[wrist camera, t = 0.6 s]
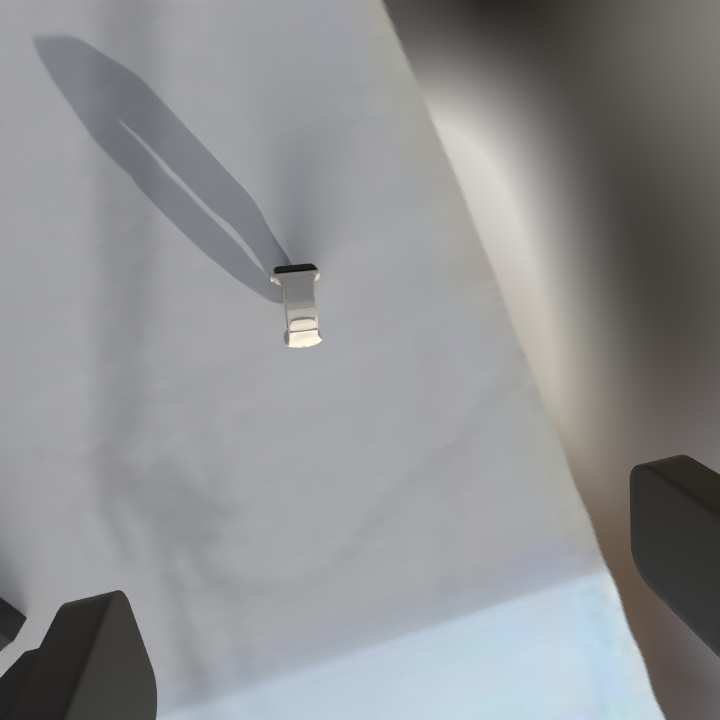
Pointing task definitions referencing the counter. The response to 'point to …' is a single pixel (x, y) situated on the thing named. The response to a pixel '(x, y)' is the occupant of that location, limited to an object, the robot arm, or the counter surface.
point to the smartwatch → (299, 303)
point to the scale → (9, 624)
